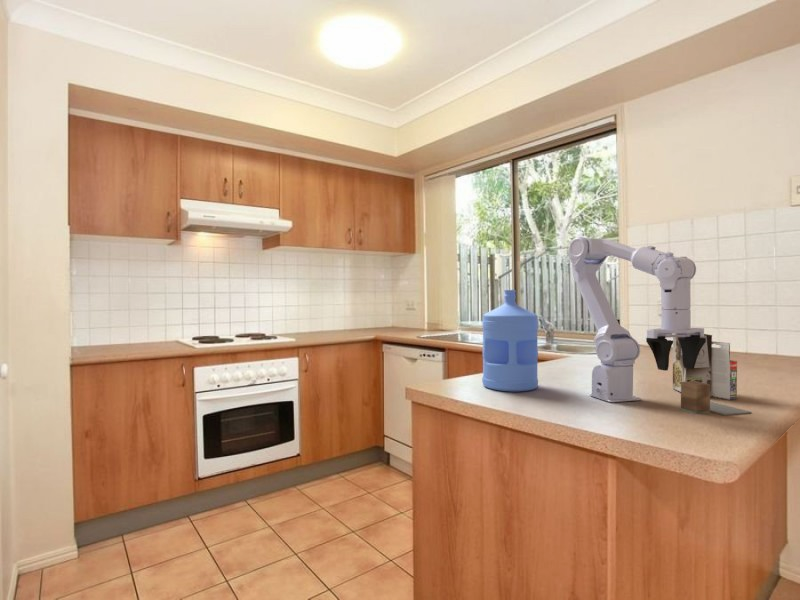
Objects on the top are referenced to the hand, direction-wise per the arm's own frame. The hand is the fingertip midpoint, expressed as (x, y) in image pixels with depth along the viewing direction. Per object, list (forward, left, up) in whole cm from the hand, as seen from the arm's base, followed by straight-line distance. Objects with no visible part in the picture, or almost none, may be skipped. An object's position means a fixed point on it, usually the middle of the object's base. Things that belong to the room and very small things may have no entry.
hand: (676, 369), depth 103 cm
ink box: (+24, +10, -10) cm, 28 cm away
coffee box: (+21, +15, -10) cm, 28 cm away
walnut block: (+6, 0, -10) cm, 12 cm away
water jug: (-23, +35, -10) cm, 43 cm away
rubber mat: (+12, 0, -10) cm, 16 cm away
